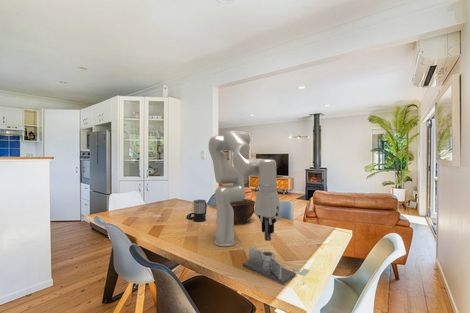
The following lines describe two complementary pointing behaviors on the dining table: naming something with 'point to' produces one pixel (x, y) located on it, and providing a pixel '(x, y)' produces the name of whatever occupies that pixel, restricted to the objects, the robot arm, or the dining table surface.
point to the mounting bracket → (301, 271)
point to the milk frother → (199, 211)
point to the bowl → (242, 210)
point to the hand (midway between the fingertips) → (267, 231)
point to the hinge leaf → (273, 267)
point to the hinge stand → (257, 267)
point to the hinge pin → (267, 236)
